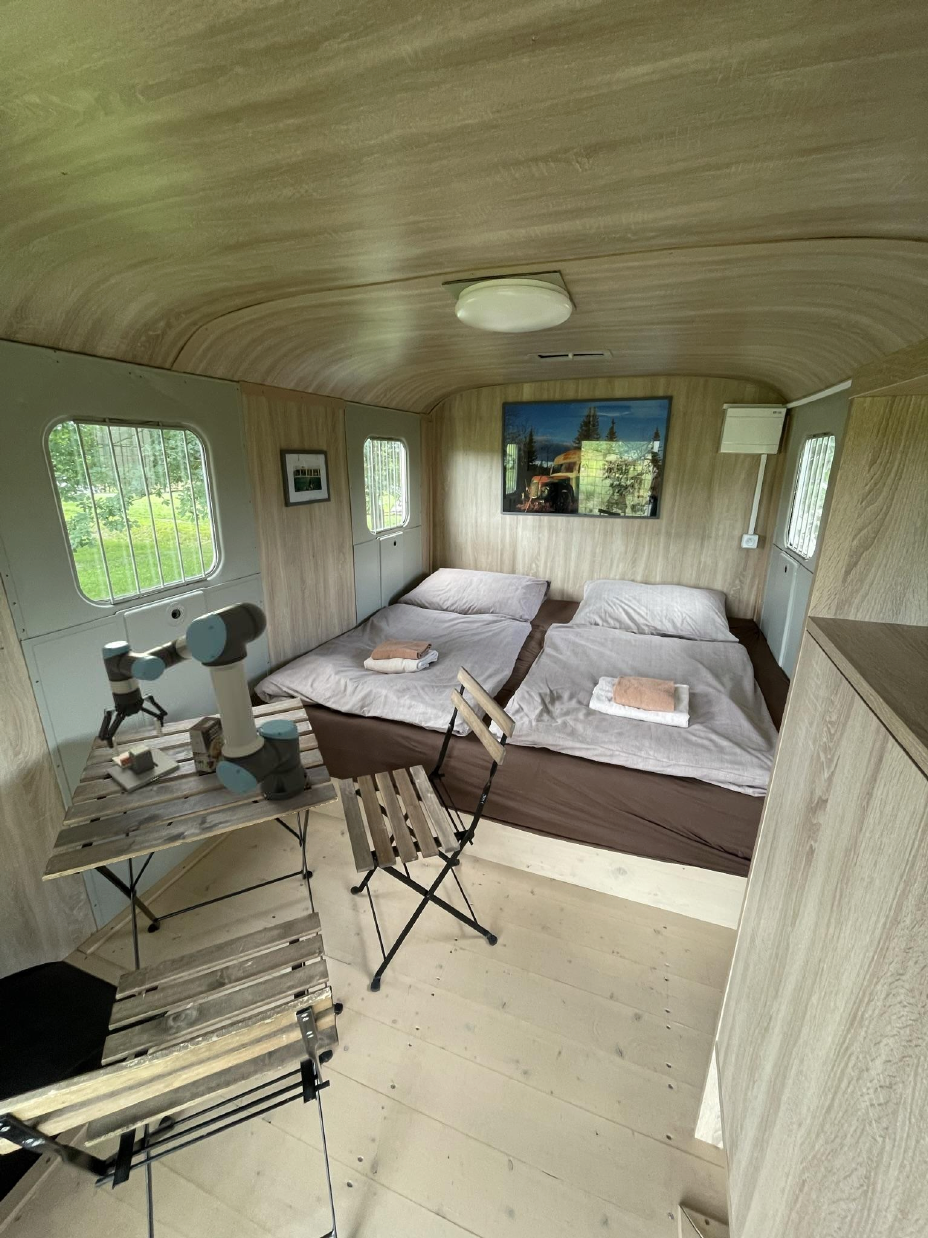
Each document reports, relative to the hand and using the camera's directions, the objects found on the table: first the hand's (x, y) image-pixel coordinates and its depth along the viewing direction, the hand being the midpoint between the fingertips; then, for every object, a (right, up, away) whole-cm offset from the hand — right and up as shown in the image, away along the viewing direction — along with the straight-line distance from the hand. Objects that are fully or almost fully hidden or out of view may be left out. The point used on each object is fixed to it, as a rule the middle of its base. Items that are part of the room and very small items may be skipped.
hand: (139, 745), depth 167 cm
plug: (-1, -9, +3) cm, 10 cm away
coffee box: (+20, -8, +9) cm, 23 cm away
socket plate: (-1, -9, +4) cm, 10 cm away
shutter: (-7, -6, +7) cm, 12 cm away
